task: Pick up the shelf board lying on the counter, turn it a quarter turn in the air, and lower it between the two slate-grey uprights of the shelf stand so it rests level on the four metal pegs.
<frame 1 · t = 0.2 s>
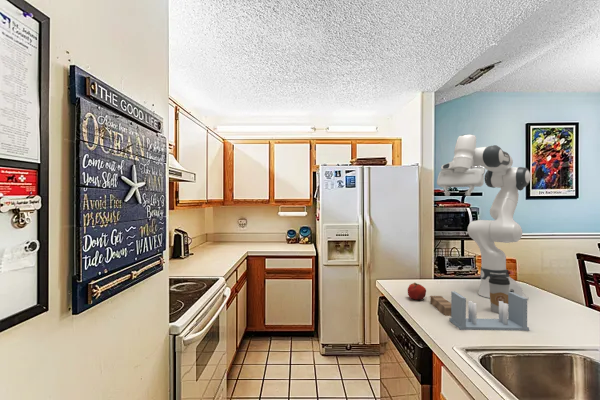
hand: (457, 195, 158), 52 cm above the countertop, tool tilted 20°, fingers open, 8 cm apart
coffee cup: (499, 311, 156), on the countertop
shelf board: (442, 310, 158), on the countertop
shelf stand: (487, 325, 138), on the countertop
tomato: (416, 299, 175), on the countertop
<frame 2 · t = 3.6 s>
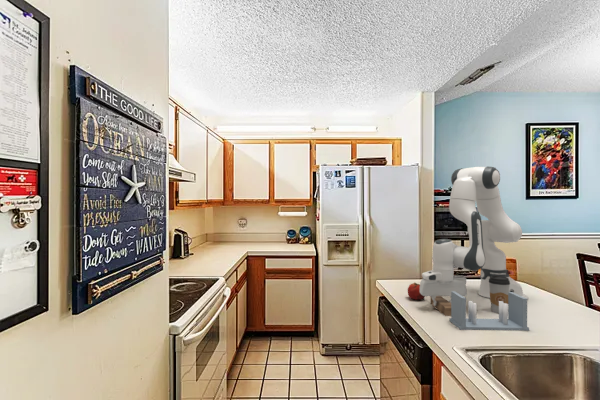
hand: (442, 305, 158), 2 cm above the countertop, tool pointing down, fingers closed on shelf board, 5 cm apart
shelf board: (443, 310, 158), on the countertop, touching gripper
everything else where it was.
when the fingers open (11 cm above the countertop, at t = 10.7 s): shelf board stays where it is, resting on shelf stand.
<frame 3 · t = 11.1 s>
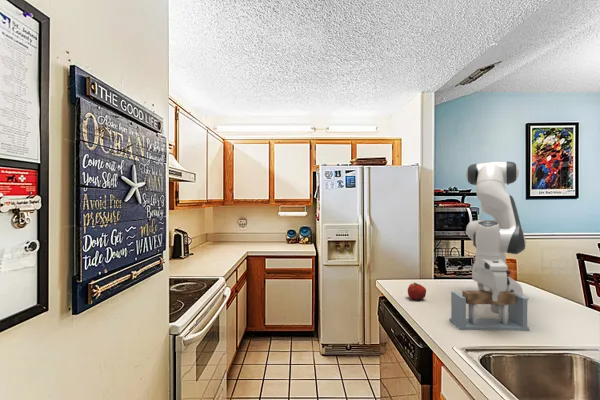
hand: (487, 297, 138), 11 cm above the countertop, tool pointing down, fingers open, 8 cm apart
shelf board: (488, 302, 138), point 9 cm above the countertop, touching shelf stand
everything else where it was.
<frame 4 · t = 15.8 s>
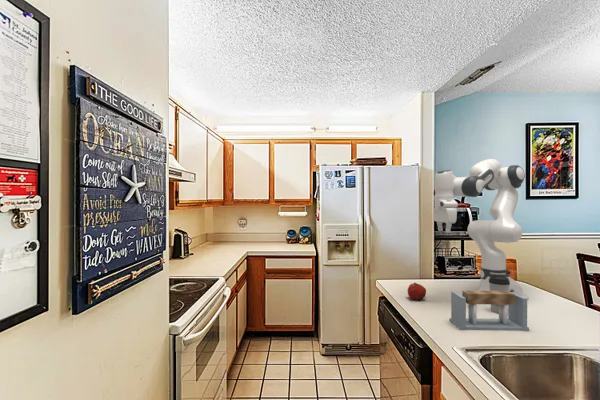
hand: (444, 231, 170), 34 cm above the countertop, tool pointing down, fingers open, 8 cm apart
nothing on the countertop moved.
at the end: shelf board 0.2 cm off-centre on the shelf stand, point 9.0 cm above the shelf stand's base; shelf board tilted 0°; the gripper is holding nothing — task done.
